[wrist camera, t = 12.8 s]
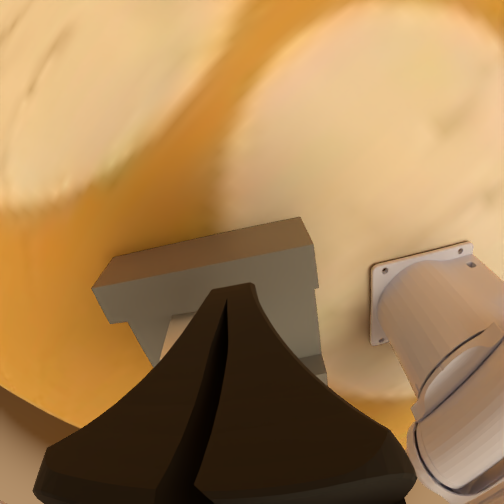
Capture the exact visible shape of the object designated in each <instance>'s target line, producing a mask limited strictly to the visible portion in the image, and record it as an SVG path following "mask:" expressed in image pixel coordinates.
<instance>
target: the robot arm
mask: <svg viewBox="0 0 504 504" xmlns="http://www.w3.org/2000/svg"><path fill="white" fill-rule="evenodd" d="M459 249H460V251H459ZM458 251H459V252H458ZM383 268H386V269H385V271H382V270H383ZM381 338H382V339H381ZM387 342H390V344H391V346H392V348H393V350H394V352H395V354H396V356H397V358H398V360H399V362H400V364H401V366H402V368H403V370H404V372H405V374H406V376H407V378H408V380H409V382H410V384H411V386H412V388H413V391H414V393H415V395H416V397H417V399H418V400H417V402H416V403H415V404H414V405H413V406H412V407H411V411H412V413H413V415H414V418H415V420H416V421H415V422H414V423H413V424H412V425H411V426H410V428H409V430H408V433H407V453H406V452H405V450H404V449H403V447H402V446H401V444H400V443H399V442H398V440H397V439H396V437H395V436H394V435H393V433H392V432H391V431H390V430H389V429H388V428H386V427H384V426H383V425H381V424H379V423H378V422H376V421H374V420H373V419H371V418H370V417H368V416H367V415H365V414H364V413H362V412H361V411H359V410H358V409H356V408H355V407H353V406H352V405H351V404H349V403H348V402H347V401H345V400H344V399H343V398H341V397H340V396H339V395H337V394H336V393H335V392H334V391H333V390H331V389H330V388H329V387H328V386H327V385H326V384H324V383H323V382H322V381H321V380H320V379H319V378H318V377H316V376H315V375H314V374H313V373H312V372H311V371H310V370H309V369H308V368H307V367H306V366H305V365H304V364H303V363H302V362H301V361H300V360H299V359H298V357H297V356H296V355H295V354H294V353H293V352H292V351H291V349H290V348H289V347H288V346H287V345H286V343H285V342H284V341H283V339H282V338H281V337H280V335H279V334H278V333H277V331H276V330H275V328H274V327H273V325H272V324H271V322H270V321H269V319H268V317H267V316H266V314H265V312H264V310H263V308H262V307H261V304H260V302H259V299H258V295H257V291H256V287H255V284H253V283H251V282H248V283H243V284H238V285H232V286H227V287H222V288H216V289H212V290H211V291H210V293H209V294H208V295H207V297H206V298H205V300H204V301H203V303H202V304H201V306H200V307H199V309H198V311H197V312H196V314H195V315H194V317H193V318H192V320H191V321H190V322H189V324H188V325H187V327H186V328H185V330H184V331H183V333H182V334H181V335H180V337H179V338H178V339H177V340H176V342H175V343H174V344H173V346H172V347H171V348H170V349H169V351H168V352H167V353H166V355H165V356H164V357H163V358H162V359H161V360H160V362H159V363H158V364H157V365H156V366H155V367H154V368H153V369H152V370H151V371H150V372H149V373H148V374H147V375H146V377H145V378H144V379H143V380H142V381H141V382H139V383H138V384H137V385H136V386H135V387H134V388H133V389H132V390H131V391H129V392H128V393H127V394H126V395H125V396H124V397H123V398H122V399H120V400H119V401H118V402H117V403H116V404H115V405H113V406H112V407H111V408H109V409H108V410H107V411H106V412H104V413H103V414H102V415H100V416H99V417H97V418H96V419H95V420H93V421H92V422H90V423H89V424H87V425H86V426H84V427H83V428H81V429H80V430H78V431H76V432H75V433H73V434H71V435H70V436H68V437H66V438H64V439H62V440H61V441H59V442H57V443H55V444H54V445H52V446H50V447H48V448H47V450H46V452H45V455H44V458H43V461H42V464H41V467H40V470H39V473H38V476H37V479H36V482H35V485H34V488H33V493H34V495H35V496H36V497H37V499H39V500H40V501H41V502H43V503H44V504H406V502H405V499H404V497H405V496H406V495H407V494H408V492H409V491H410V490H411V489H412V487H413V486H414V484H415V482H416V480H417V478H418V479H419V481H420V482H421V483H422V484H423V485H424V486H425V487H427V488H428V489H430V490H432V491H433V492H435V493H437V494H439V495H440V496H442V497H443V498H444V499H445V500H447V501H448V502H449V503H450V504H504V282H503V281H502V280H501V279H500V278H499V277H498V276H497V275H496V274H495V273H493V272H492V271H491V270H490V269H489V268H488V267H487V266H486V265H485V264H483V263H482V262H481V261H480V260H479V259H478V258H476V257H475V256H474V255H473V244H472V243H471V242H470V241H468V242H464V243H460V244H456V245H452V246H448V247H445V248H441V249H437V250H433V251H429V252H425V253H421V254H417V255H413V256H408V257H404V258H400V259H396V260H392V261H388V262H383V263H379V264H376V265H374V266H373V267H372V269H371V319H370V343H371V345H372V346H376V345H380V344H383V343H387ZM0 504H6V503H5V502H3V501H1V500H0Z"/></svg>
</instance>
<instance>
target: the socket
mask: <svg viewBox="0 0 504 504" xmlns="http://www.w3.org/2000/svg"><path fill="white" fill-rule="evenodd" d="M248 282H251V283H253V284H255V287H256V291H257V295H258V299H259V302H260V304H261V307H262V308H263V310H264V312H265V314H266V316H267V317H268V319H269V321H270V322H271V324H272V325H273V327H274V328H275V330H276V331H277V333H278V334H279V335H280V337H281V338H282V339H283V341H284V342H285V343H286V345H287V346H288V347H289V348H290V349H291V351H292V352H293V353H294V354H295V355H296V356H297V357H298V359H299V360H300V361H301V362H302V363H303V364H304V365H305V366H306V367H307V368H308V369H309V370H310V371H311V372H312V373H313V374H314V375H315V376H316V377H318V378H319V379H320V380H321V381H322V382H323V383H324V384H326V385H327V372H326V369H325V365H324V361H323V358H322V354H321V345H320V335H319V325H318V316H317V307H316V298H315V290H314V289H316V288H319V285H318V277H317V268H316V260H315V253H314V245H313V242H312V240H311V238H310V236H309V234H308V232H307V230H306V228H305V226H304V224H303V222H302V219H301V217H297V218H292V219H287V220H282V221H277V222H272V223H267V224H263V225H258V226H253V227H248V228H243V229H238V230H234V231H229V232H224V233H220V234H215V235H210V236H206V237H201V238H196V239H192V240H187V241H183V242H178V243H174V244H169V245H165V246H161V247H156V248H152V249H147V250H143V251H139V252H134V253H130V254H126V255H121V256H117V257H113V259H112V260H111V261H110V263H109V264H108V266H107V267H106V268H105V270H104V271H103V272H102V274H101V275H100V277H99V278H98V280H97V281H96V282H95V284H94V285H93V287H92V288H91V289H92V291H93V293H94V295H95V297H96V299H97V301H98V302H99V304H100V306H101V308H102V310H103V312H104V314H105V316H106V317H107V319H108V321H109V323H110V324H114V323H121V322H128V323H129V325H130V327H131V329H132V331H133V333H134V334H135V336H136V338H137V340H138V342H139V343H140V345H141V347H142V349H143V351H144V352H145V354H146V356H147V357H148V359H149V361H150V362H151V364H152V366H153V368H154V367H155V366H156V365H157V364H158V363H159V362H160V356H161V353H162V349H163V345H164V342H165V338H166V334H167V331H168V327H169V324H170V320H171V317H172V315H176V314H182V313H188V312H194V311H198V309H199V307H200V306H201V304H202V303H203V301H204V300H205V298H206V297H207V295H208V294H209V293H210V291H211V290H212V289H216V288H222V287H227V286H232V285H238V284H243V283H248ZM327 386H328V385H327Z"/></svg>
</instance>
